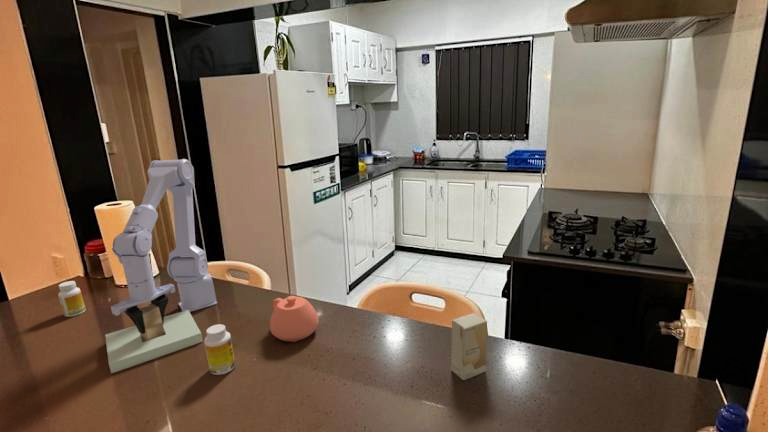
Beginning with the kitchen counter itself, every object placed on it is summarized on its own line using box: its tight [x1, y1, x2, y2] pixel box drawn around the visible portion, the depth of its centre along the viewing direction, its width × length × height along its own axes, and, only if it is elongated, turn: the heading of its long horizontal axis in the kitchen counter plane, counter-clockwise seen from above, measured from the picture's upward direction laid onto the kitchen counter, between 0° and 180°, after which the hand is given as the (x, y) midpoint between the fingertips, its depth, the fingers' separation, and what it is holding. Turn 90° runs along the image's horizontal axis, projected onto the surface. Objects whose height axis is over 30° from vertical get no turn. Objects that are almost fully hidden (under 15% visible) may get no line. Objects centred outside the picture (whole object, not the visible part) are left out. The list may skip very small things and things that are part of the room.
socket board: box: [104, 310, 204, 374], centre depth 107 cm, size 20×16×2 cm
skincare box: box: [450, 312, 488, 381], centre depth 88 cm, size 6×4×12 cm
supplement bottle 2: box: [203, 323, 236, 376], centre depth 94 cm, size 6×6×10 cm
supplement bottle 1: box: [58, 280, 87, 318], centre depth 124 cm, size 5×5×10 cm
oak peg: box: [138, 303, 165, 341], centre depth 106 cm, size 4×4×8 cm
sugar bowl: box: [269, 295, 320, 343], centre depth 107 cm, size 12×14×10 cm
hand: (151, 328), depth 106 cm, fingers closed on oak peg, 4 cm apart
